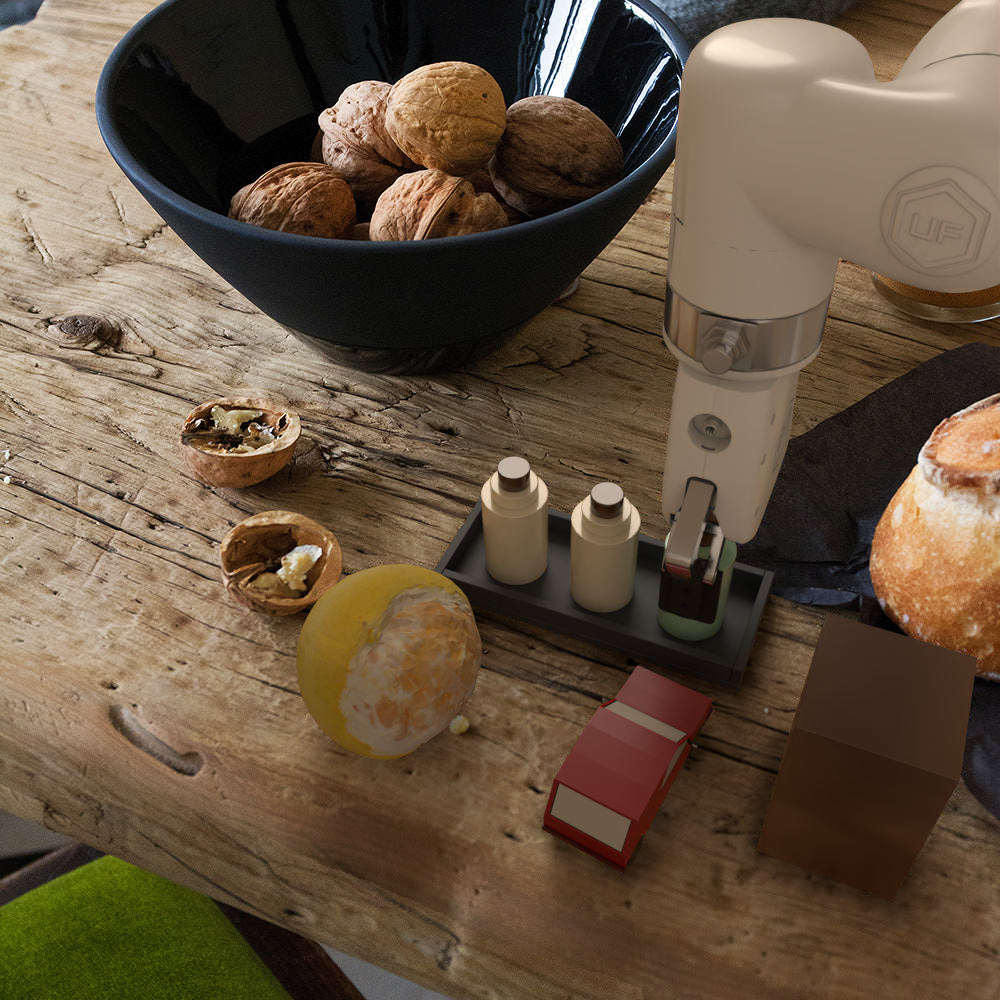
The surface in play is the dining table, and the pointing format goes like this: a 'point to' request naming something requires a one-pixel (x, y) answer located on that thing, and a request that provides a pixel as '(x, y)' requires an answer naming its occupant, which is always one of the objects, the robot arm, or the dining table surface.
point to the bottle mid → (604, 549)
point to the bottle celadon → (701, 631)
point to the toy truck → (625, 767)
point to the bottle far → (515, 523)
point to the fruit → (388, 659)
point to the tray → (623, 628)
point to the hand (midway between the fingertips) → (710, 553)
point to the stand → (869, 755)
